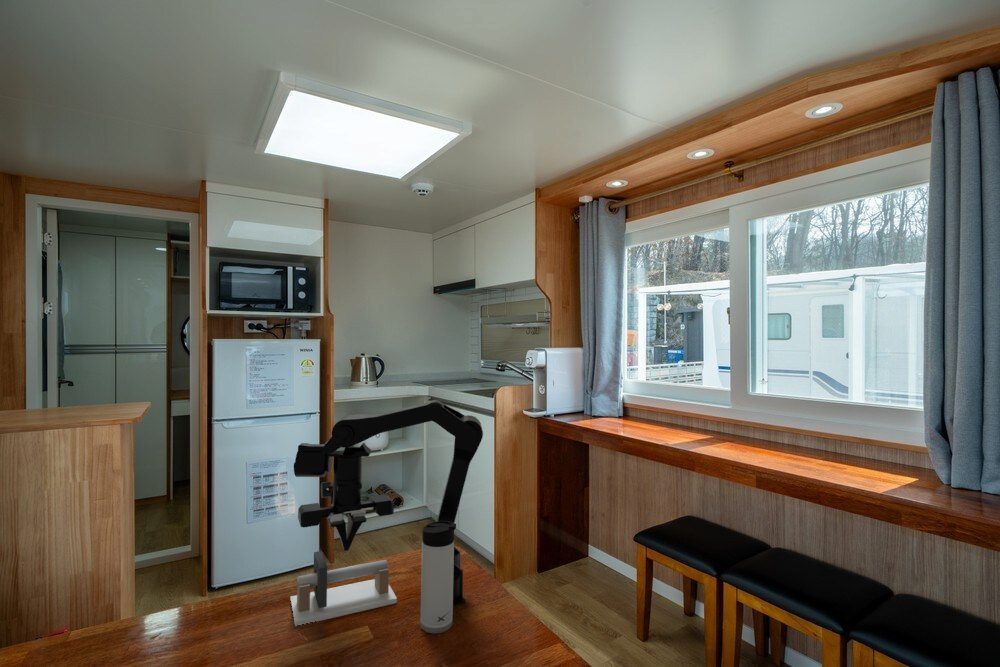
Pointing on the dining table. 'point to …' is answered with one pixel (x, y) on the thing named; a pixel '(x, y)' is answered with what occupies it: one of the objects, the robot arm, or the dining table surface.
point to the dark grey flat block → (320, 579)
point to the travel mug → (437, 576)
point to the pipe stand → (343, 593)
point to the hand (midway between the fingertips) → (346, 550)
